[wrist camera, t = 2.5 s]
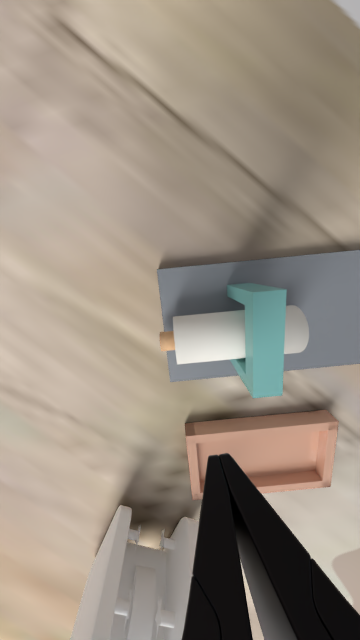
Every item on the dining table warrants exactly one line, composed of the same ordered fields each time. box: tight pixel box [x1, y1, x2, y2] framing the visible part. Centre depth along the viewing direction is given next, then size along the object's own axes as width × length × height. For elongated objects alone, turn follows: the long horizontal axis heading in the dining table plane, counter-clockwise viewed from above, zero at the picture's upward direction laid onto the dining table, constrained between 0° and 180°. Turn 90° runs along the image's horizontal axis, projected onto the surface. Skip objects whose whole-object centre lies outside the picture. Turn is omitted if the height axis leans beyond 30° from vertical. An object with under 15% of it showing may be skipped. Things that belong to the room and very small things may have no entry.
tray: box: [185, 410, 339, 500], centre depth 22 cm, size 16×9×2 cm, turn 95°
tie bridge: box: [227, 283, 287, 398], centre depth 15 cm, size 2×7×6 cm, turn 5°
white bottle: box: [160, 305, 309, 364], centre depth 17 cm, size 11×4×4 cm, turn 95°
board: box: [157, 250, 360, 382], centre depth 19 cm, size 20×11×1 cm, turn 95°
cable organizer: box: [70, 505, 199, 640], centre depth 21 cm, size 15×11×12 cm
